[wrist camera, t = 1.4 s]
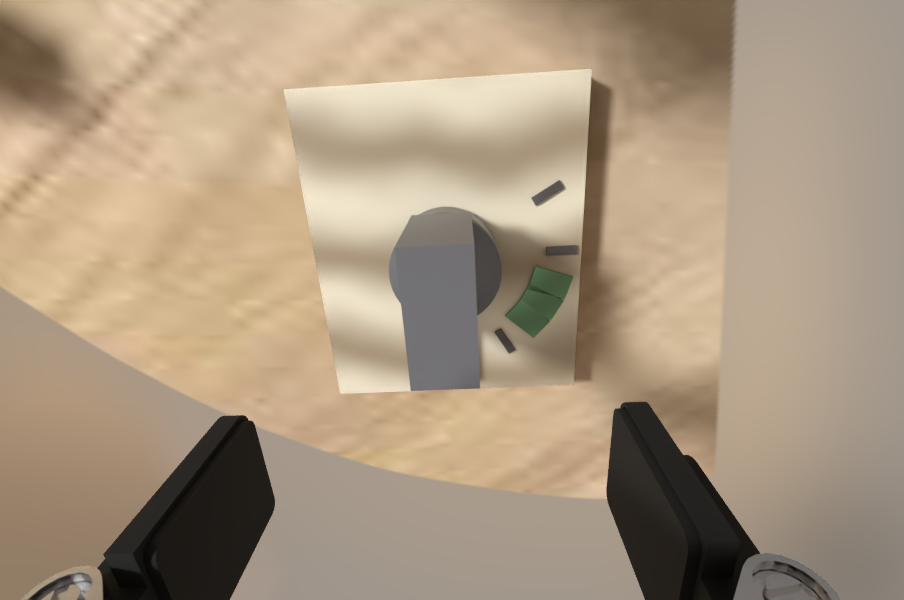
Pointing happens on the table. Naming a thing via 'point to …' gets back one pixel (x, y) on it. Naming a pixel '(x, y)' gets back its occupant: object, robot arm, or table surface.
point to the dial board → (448, 185)
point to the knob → (444, 294)
